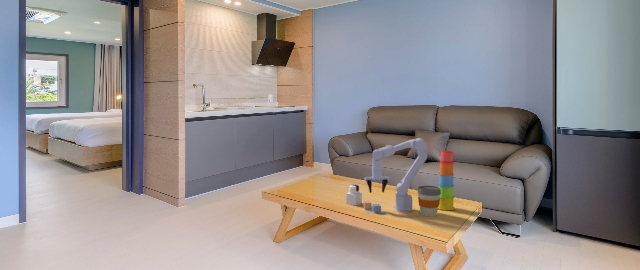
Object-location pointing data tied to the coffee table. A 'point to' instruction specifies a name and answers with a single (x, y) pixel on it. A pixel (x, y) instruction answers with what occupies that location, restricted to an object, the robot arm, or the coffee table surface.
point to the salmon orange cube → (367, 205)
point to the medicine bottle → (354, 195)
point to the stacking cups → (446, 181)
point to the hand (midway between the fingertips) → (376, 192)
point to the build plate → (372, 211)
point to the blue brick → (376, 208)
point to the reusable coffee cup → (429, 200)
